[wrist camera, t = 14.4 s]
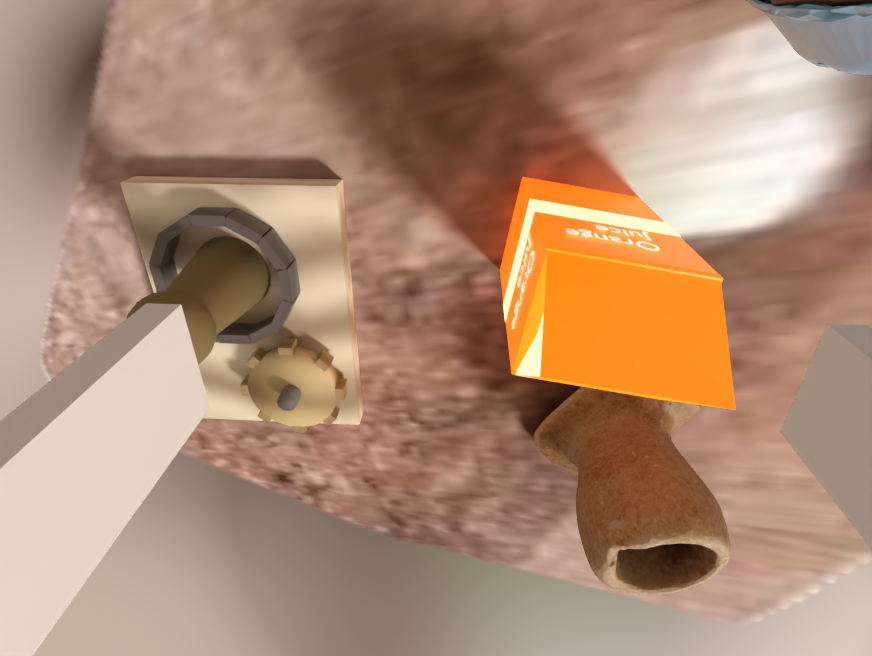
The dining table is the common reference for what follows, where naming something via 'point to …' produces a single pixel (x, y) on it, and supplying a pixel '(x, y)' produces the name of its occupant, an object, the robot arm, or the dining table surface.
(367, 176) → the dining table surface
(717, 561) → the brown hollow flared piece
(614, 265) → the orange juice
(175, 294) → the cork
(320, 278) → the gear board
